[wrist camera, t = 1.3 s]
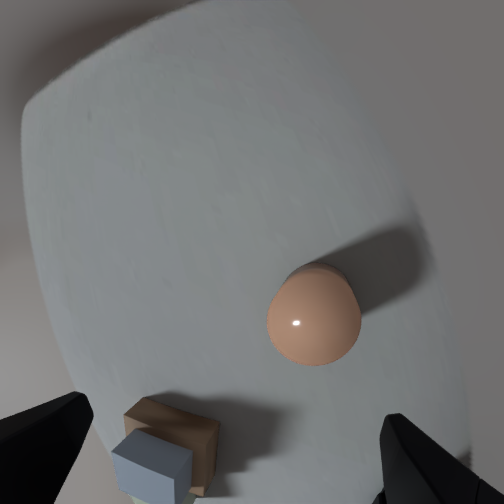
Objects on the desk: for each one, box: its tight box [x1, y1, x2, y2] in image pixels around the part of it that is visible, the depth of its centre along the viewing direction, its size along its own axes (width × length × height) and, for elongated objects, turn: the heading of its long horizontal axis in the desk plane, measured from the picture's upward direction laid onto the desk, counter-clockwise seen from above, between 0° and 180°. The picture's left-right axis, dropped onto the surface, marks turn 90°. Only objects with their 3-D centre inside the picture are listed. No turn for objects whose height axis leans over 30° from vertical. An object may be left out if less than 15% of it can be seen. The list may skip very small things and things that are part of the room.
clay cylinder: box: [267, 263, 361, 366], centre depth 17 cm, size 5×5×5 cm
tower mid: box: [111, 429, 193, 504], centre depth 18 cm, size 5×5×4 cm
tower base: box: [124, 397, 220, 497], centre depth 21 cm, size 7×7×4 cm
